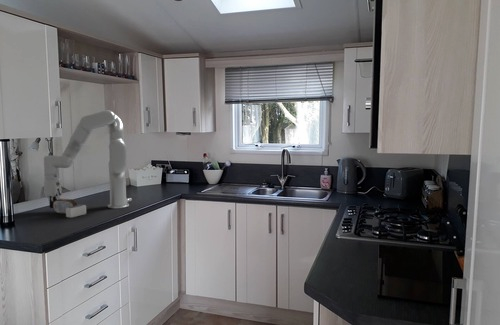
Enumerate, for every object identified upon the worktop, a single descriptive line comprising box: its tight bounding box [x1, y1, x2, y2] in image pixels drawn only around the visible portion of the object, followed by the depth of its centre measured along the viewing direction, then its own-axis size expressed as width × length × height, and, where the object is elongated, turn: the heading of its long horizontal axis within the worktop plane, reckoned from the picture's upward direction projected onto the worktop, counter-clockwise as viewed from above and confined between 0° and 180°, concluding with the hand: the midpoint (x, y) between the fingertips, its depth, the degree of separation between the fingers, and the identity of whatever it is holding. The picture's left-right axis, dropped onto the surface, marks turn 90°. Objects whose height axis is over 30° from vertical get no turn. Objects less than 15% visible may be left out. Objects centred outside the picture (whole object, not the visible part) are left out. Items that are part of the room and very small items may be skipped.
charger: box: [65, 204, 87, 218], centre depth 206 cm, size 10×4×5 cm, turn 154°
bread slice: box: [52, 198, 78, 215], centre depth 210 cm, size 15×3×8 cm, turn 77°
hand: (53, 207), depth 214 cm, fingers closed
